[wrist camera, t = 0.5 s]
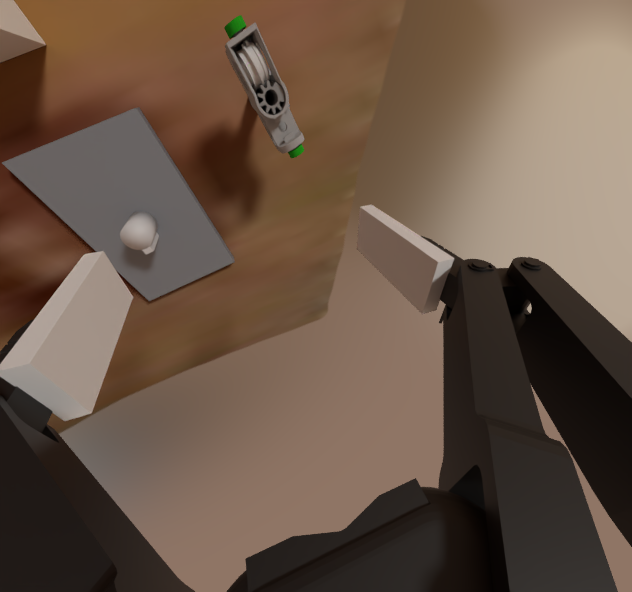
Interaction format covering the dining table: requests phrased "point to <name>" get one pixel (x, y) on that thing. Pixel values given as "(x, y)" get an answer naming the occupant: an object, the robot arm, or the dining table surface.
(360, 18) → the dining table surface
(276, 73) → the mechanical component
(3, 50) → the cream slotted box
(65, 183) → the board
